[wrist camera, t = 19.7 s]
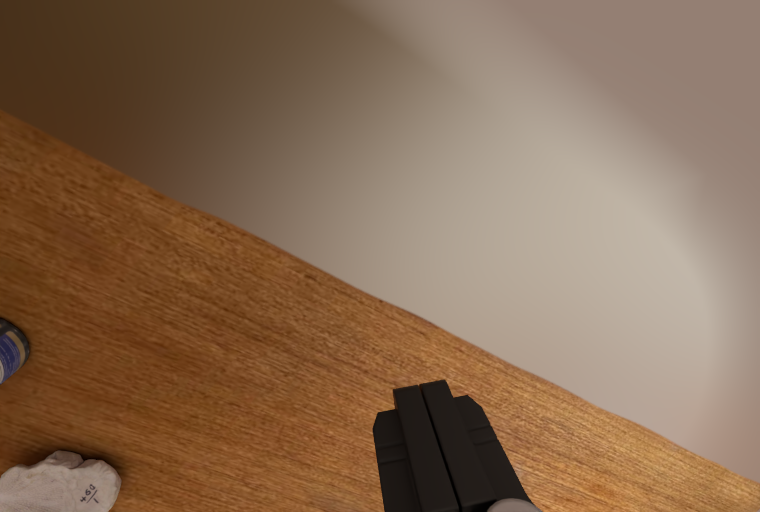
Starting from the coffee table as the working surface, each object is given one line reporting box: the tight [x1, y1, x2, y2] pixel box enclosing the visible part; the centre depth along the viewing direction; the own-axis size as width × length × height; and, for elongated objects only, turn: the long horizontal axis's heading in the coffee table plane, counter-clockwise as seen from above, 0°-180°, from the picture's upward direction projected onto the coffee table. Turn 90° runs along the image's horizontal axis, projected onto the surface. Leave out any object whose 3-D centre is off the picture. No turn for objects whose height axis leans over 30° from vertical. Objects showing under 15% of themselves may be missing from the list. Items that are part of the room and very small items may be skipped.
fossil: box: [0, 450, 121, 512], centre depth 39 cm, size 9×6×10 cm
